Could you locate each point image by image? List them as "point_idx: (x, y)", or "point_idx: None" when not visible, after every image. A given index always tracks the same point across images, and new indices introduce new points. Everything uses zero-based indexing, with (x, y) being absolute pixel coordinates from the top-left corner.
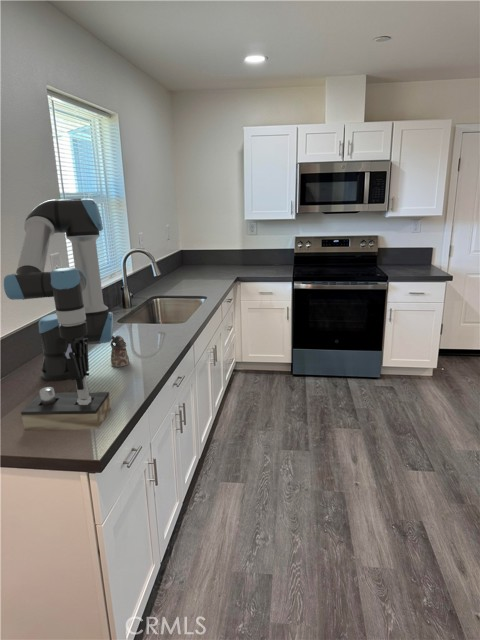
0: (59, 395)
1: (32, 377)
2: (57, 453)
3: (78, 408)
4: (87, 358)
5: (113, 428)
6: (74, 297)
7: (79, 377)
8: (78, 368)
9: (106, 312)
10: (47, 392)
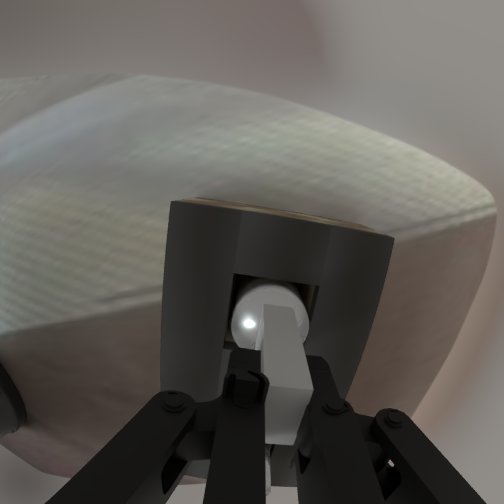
0: None
1: (26, 439)
2: (453, 320)
3: (346, 329)
4: (98, 487)
5: (366, 164)
6: None
7: (408, 425)
8: (434, 493)
9: None
10: (269, 483)
